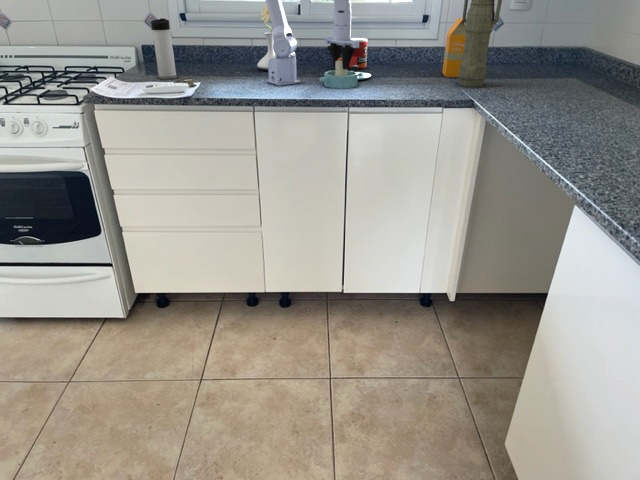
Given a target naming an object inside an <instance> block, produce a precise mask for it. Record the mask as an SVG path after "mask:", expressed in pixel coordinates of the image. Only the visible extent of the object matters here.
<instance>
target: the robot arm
mask: <svg viewBox="0 0 640 480" xmlns="http://www.w3.org/2000/svg"><path fill="white" fill-rule="evenodd" d="M333 3H334V4H333V8H334V9H333V37H331V36H328V37H325V38H324V42H325V43H324V44H325V45H328V46H327V50H328V51H329V54H330V56H331V59H332V64H333V67H334V68H335V64H336V61H337V60H338V58H342V62H343V69H347V70H349V69H350V68H349V65H350V61H351V58H352V56H353V54H354V52H355V50H356V48H359V41H355V40H352V39H350V38H351V37H352V36H351V33H352V31H351V30H352V0H333ZM265 4H267V7H268V11H269V15H270V18H271V20H270V21H271V25H272V27H273V30H272V32H273V40H274V43H273V49H274V52H275V57H274V58H271V59H270V60H269V63H268V70H267V71H268V80H267V82H268V83H270V84H273V85H276V86H280V87H281V86H287V85H294V84H299V83H300V84H301V83H302V80H299V79H297V54H296V50H297V49H298V40H297V38H296V37H295V35H294V34H293V32H292V29H291V27H290V26H289V24H288V20H287V16H286V13H285V8H284V5H283V1H282V0H265Z"/></svg>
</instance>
